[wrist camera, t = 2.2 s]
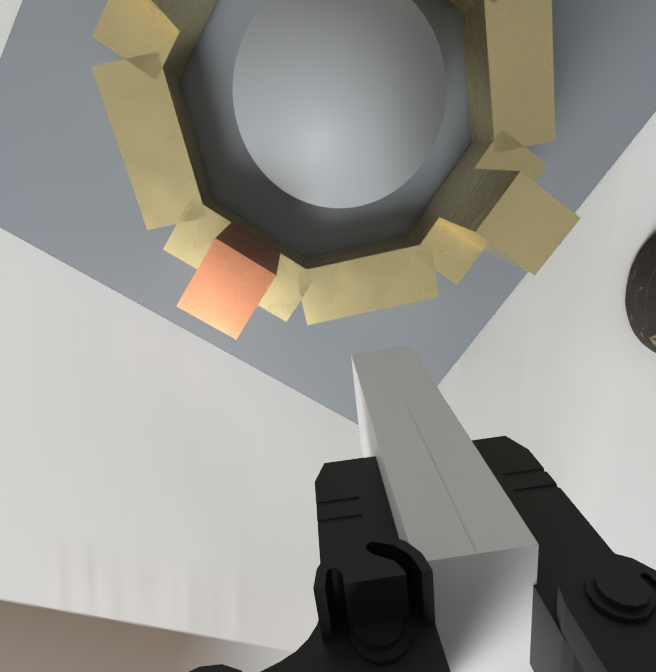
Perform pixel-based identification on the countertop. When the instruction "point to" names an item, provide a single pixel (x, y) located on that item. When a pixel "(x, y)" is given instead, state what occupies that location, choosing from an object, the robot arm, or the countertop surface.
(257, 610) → the countertop surface
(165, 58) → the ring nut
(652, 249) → the container
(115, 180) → the slate plate
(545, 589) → the robot arm
